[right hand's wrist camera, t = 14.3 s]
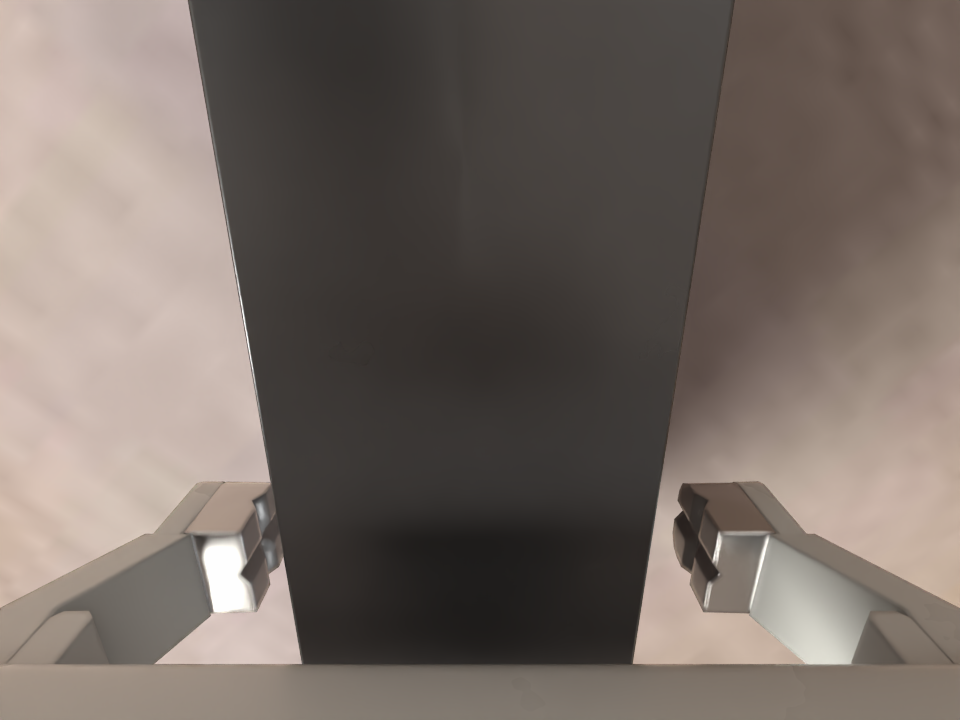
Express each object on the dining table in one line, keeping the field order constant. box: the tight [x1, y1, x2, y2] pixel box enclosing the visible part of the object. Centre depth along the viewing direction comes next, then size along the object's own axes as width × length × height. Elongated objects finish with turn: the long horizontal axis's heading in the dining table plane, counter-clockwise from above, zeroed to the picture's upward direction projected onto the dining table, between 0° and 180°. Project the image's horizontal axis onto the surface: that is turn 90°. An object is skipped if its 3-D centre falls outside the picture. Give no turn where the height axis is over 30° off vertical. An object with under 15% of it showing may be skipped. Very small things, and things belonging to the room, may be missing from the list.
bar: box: [188, 0, 735, 664], centre depth 9 cm, size 23×5×8 cm, turn 0°
